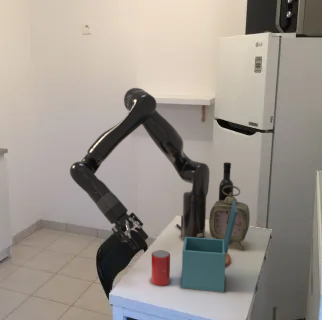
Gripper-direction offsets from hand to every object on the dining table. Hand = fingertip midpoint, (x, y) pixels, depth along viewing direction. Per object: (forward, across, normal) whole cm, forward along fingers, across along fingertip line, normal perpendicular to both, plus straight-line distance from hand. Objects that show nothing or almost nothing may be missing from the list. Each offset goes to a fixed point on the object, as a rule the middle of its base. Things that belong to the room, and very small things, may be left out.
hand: (141, 243), depth 150 cm
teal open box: (+23, +6, -5) cm, 24 cm away
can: (+14, 0, +4) cm, 14 cm away
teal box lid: (+14, +8, -25) cm, 30 cm away
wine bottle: (+20, +54, -2) cm, 58 cm away
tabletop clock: (+24, +39, -6) cm, 46 cm away
